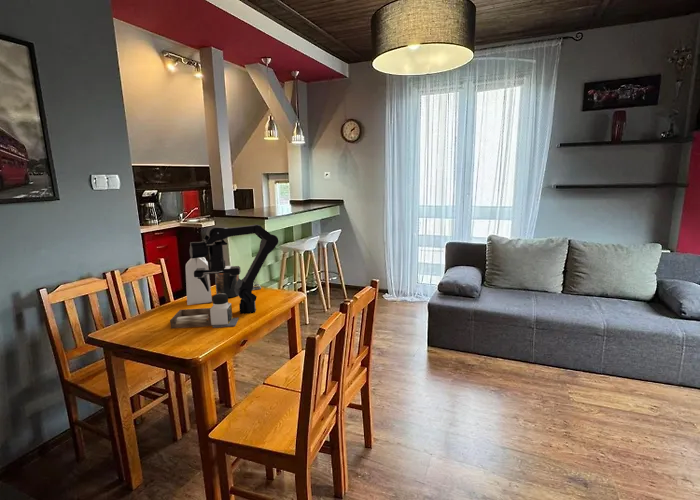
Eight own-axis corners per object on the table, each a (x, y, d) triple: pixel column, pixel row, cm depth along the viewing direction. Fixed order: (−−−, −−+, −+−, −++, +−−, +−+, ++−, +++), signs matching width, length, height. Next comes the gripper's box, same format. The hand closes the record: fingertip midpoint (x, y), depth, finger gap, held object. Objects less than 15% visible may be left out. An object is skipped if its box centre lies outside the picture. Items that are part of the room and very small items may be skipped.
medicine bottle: (228, 324, 154) (226, 296, 152) (210, 325, 154) (208, 297, 152) (232, 318, 161) (230, 291, 159) (215, 319, 161) (213, 292, 159)
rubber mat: (238, 318, 163) (238, 317, 163) (235, 326, 154) (235, 325, 154) (217, 320, 162) (217, 318, 162) (212, 327, 153) (212, 326, 153)
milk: (187, 298, 194) (183, 249, 189) (211, 295, 198) (207, 247, 193) (187, 305, 183) (182, 253, 178) (212, 302, 187) (208, 251, 183)
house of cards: (263, 286, 217) (263, 273, 215) (264, 290, 208) (263, 276, 207) (247, 287, 214) (247, 274, 213) (247, 291, 206) (246, 277, 205)
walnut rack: (218, 315, 168) (217, 307, 167) (211, 325, 155) (210, 317, 154) (180, 317, 166) (180, 309, 165) (170, 328, 153) (170, 320, 152)
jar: (226, 299, 191) (224, 270, 188) (212, 296, 197) (209, 268, 195) (244, 293, 201) (242, 266, 198) (230, 290, 207) (228, 264, 204)
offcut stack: (209, 322, 159) (208, 314, 159) (208, 324, 157) (207, 316, 156) (177, 325, 156) (176, 317, 156) (176, 327, 154) (175, 319, 153)
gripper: (240, 251, 171) (242, 284, 173) (197, 253, 167) (200, 287, 170) (238, 255, 160) (240, 291, 162) (192, 258, 156) (195, 294, 159)
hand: (219, 290), depth 164 cm, fingers open, 9 cm apart
